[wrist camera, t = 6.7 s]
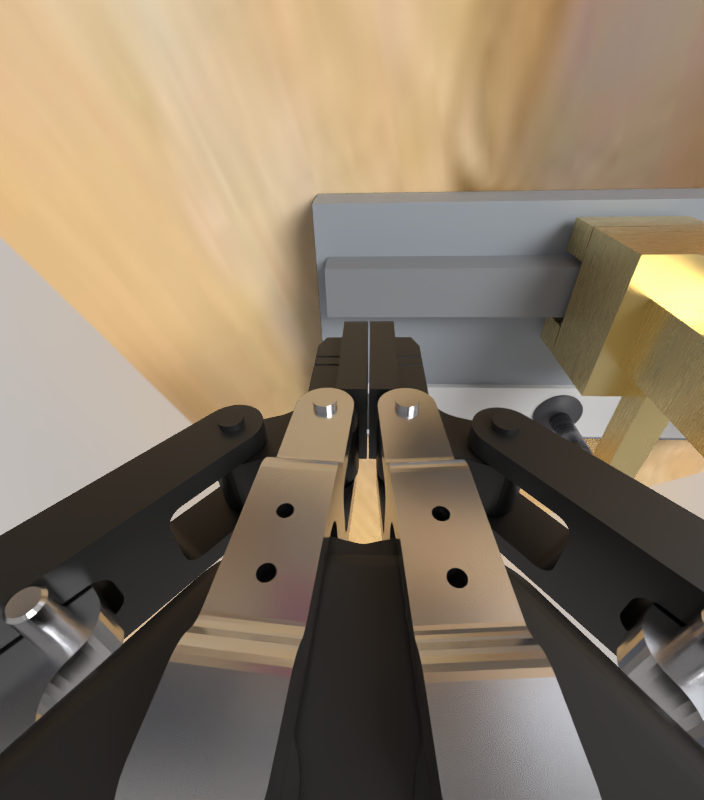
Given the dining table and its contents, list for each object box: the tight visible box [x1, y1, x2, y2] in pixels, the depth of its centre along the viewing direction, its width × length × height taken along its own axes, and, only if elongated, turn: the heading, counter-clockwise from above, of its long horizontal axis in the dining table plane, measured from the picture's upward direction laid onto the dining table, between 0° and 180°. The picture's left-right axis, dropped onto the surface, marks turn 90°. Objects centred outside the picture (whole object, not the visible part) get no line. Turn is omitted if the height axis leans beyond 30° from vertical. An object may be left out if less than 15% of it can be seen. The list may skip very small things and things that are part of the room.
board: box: [312, 188, 704, 440], centre depth 18 cm, size 12×26×4 cm, turn 91°
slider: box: [540, 216, 704, 479], centre depth 13 cm, size 10×4×12 cm, turn 1°
